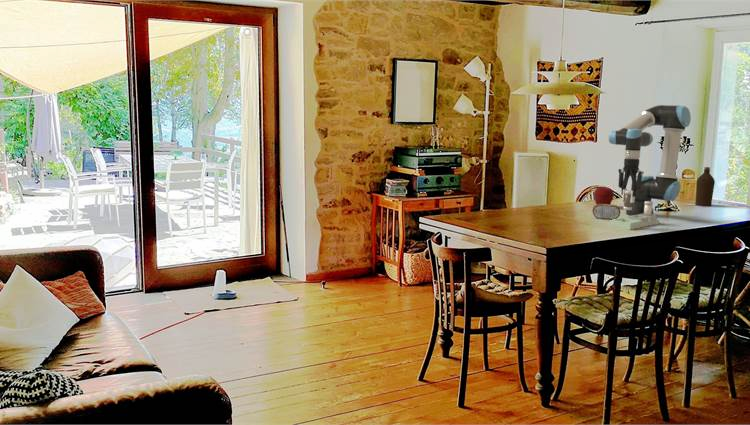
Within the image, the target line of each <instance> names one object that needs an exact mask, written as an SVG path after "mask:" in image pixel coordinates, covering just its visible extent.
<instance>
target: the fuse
mask: <svg viewBox="0 0 750 425" xmlns="http://www.w3.org/2000/svg"><path fill="white" fill-rule="evenodd" d="M653 203H654V202H653V201H652V200H651V201H645V203H644V204H645V207H644V215H645V216H651V212H652V208H653Z"/></svg>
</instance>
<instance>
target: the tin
mask: <svg viewBox="0 0 750 425" xmlns="http://www.w3.org/2000/svg"><path fill="white" fill-rule="evenodd" d="M592 215H593V216H594V217H595V218H596V219H601V220H611V219H617V218H620V215H621V209H620V207H619V206H618V205H616V204H610V205H609V204H595V205H594V206H593V207H592Z"/></svg>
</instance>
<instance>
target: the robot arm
mask: <svg viewBox="0 0 750 425" xmlns="http://www.w3.org/2000/svg"><path fill="white" fill-rule="evenodd" d="M691 118H692V117H691V112H690V110H689V108H688V107H687V106H685V105H665V104H661V105H660V104H659V105H654V106H652V107H650V108H647V109H646V110H643V111H642V112H641V113H640V114H639V116H638V117H637V118H635V119H634V120H632V121H631V122H629V123H628V124H626V125H625V126H624V127H622V128H621V129H618V130H611V131H610V132H609V133H608V142H609V143H610V144H611V145H615V146H617V145H618V146H625V148H624V149H625V150H624V161H623V168H619V169H618V174H619V175H618V188H619V189H621V196H622V197H621V202H623V203H624V200H625V191H626V190H628V189H627V185H628V181H629V178H630V179H631V185H630V191H631V199H630V203H632V206H631V207H632V210H625V214H626V215H628V216H632V215H638V214H644V207H645V204H644V203H645V201H652V200H659V201H668V202H669V201H670V202H672V201H673V202H674V201H675V200H676V199H677V198H678V196H679V194H680V192H681V187H682V186H681V182H680V181H679V179H678V176H677V175H676V174H677V166H678V165H677V164H678V160H679V152H680V146H681V139H682V133H683V132H685V131H686V128H688V127H689V126H690V123H691ZM653 126H660V127H661V126H663V127H662V130H663V131H664V138H663V145H662V146H663V147H662V151H661V152H662V153H661V159H660V164H659V165H660V167H659V173H658V174H657V175H655V176H653V175H644V173H645V172H644V171H643V170H640V168H639V166H640V158H641V148H642V147H649V146H650V145H651V144H652V143H653V140H654V137H653V135H652V133H650V132H647V131H644V130H646V129H647V128H651V127H653ZM654 177H655V178H654ZM651 214H652V215H654V210H653V207H652V212H651Z"/></svg>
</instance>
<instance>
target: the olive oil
mask: <svg viewBox="0 0 750 425" xmlns="http://www.w3.org/2000/svg"><path fill="white" fill-rule="evenodd" d="M710 172H711V167H710V166H709V167H708V166H705V167H704V170H703V173H702V174H700V176H699V177H698V178H697V179H696V188H695V190H696V191H695V206H698V207H711V206H712V202H713V196H714V188H715V184H716V182H715V178H714V176H712V174H710Z"/></svg>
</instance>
